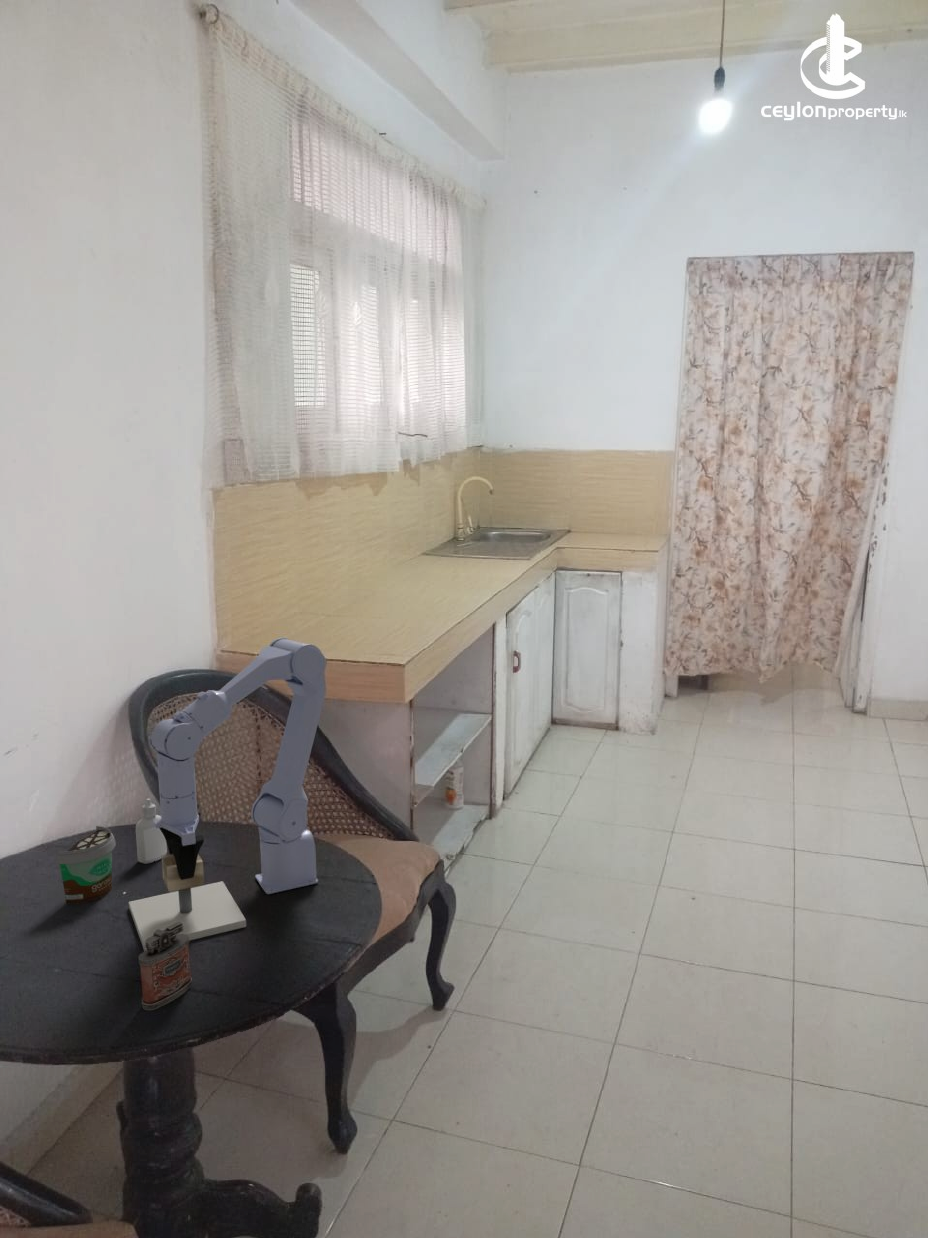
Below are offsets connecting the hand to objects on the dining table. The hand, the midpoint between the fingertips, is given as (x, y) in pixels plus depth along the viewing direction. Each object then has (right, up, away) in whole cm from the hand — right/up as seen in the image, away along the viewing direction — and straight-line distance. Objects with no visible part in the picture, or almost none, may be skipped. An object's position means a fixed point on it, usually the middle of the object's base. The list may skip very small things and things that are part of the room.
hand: (183, 870), depth 153 cm
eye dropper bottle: (-13, -5, +25) cm, 28 cm away
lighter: (+4, -12, -21) cm, 25 cm away
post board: (0, -8, +1) cm, 8 cm away
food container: (-18, -7, +11) cm, 23 cm away
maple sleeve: (0, -2, 0) cm, 2 cm away
